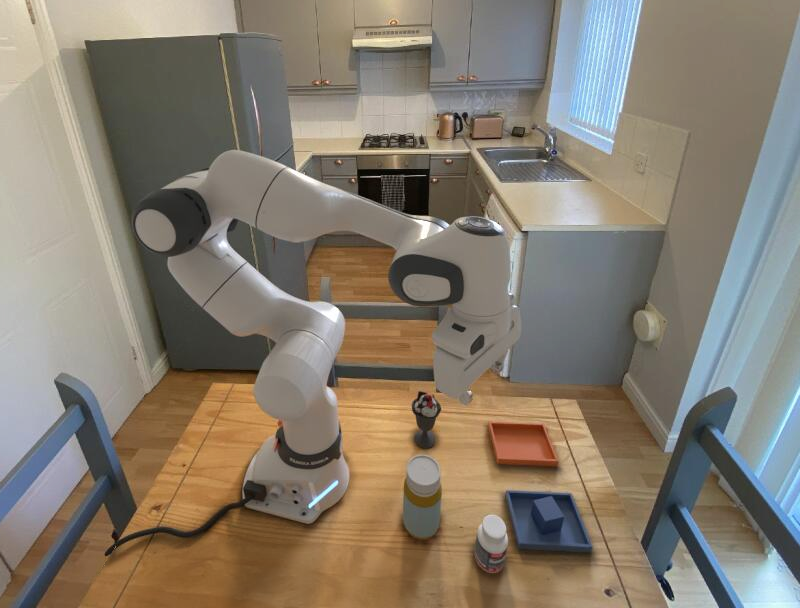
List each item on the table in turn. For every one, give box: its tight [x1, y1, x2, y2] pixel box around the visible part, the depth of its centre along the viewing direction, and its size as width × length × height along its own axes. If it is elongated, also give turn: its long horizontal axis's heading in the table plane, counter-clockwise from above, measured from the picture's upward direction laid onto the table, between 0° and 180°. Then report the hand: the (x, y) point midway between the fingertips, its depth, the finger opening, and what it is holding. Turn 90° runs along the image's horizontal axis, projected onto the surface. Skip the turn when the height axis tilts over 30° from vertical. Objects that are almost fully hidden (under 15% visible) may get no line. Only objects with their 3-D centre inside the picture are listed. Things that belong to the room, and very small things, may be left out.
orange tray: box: [487, 421, 560, 467], centre depth 96 cm, size 13×10×2 cm
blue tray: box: [504, 489, 593, 554], centre depth 81 cm, size 13×10×2 cm
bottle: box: [402, 453, 443, 541], centre depth 79 cm, size 7×7×15 cm
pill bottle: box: [473, 514, 509, 574], centre depth 74 cm, size 5×5×9 cm
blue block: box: [531, 496, 564, 535], centre depth 80 cm, size 4×4×4 cm
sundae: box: [411, 390, 442, 449], centre depth 96 cm, size 7×7×15 cm
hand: (481, 385), depth 71 cm, fingers open, 8 cm apart
